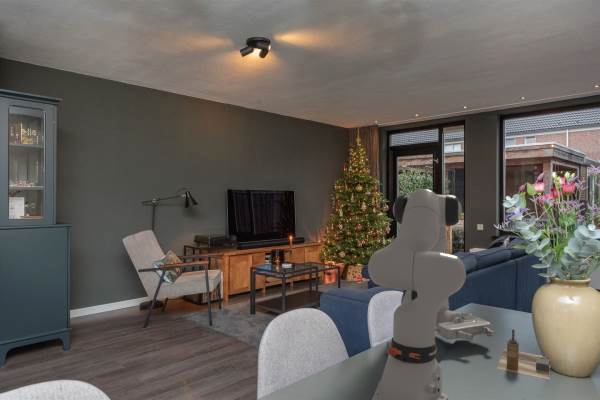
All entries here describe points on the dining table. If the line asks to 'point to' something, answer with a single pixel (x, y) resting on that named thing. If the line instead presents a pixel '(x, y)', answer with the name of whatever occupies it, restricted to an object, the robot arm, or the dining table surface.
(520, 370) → the subfloor panel
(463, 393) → the dining table surface
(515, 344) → the awl
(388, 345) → the usb wall charger
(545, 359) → the block
